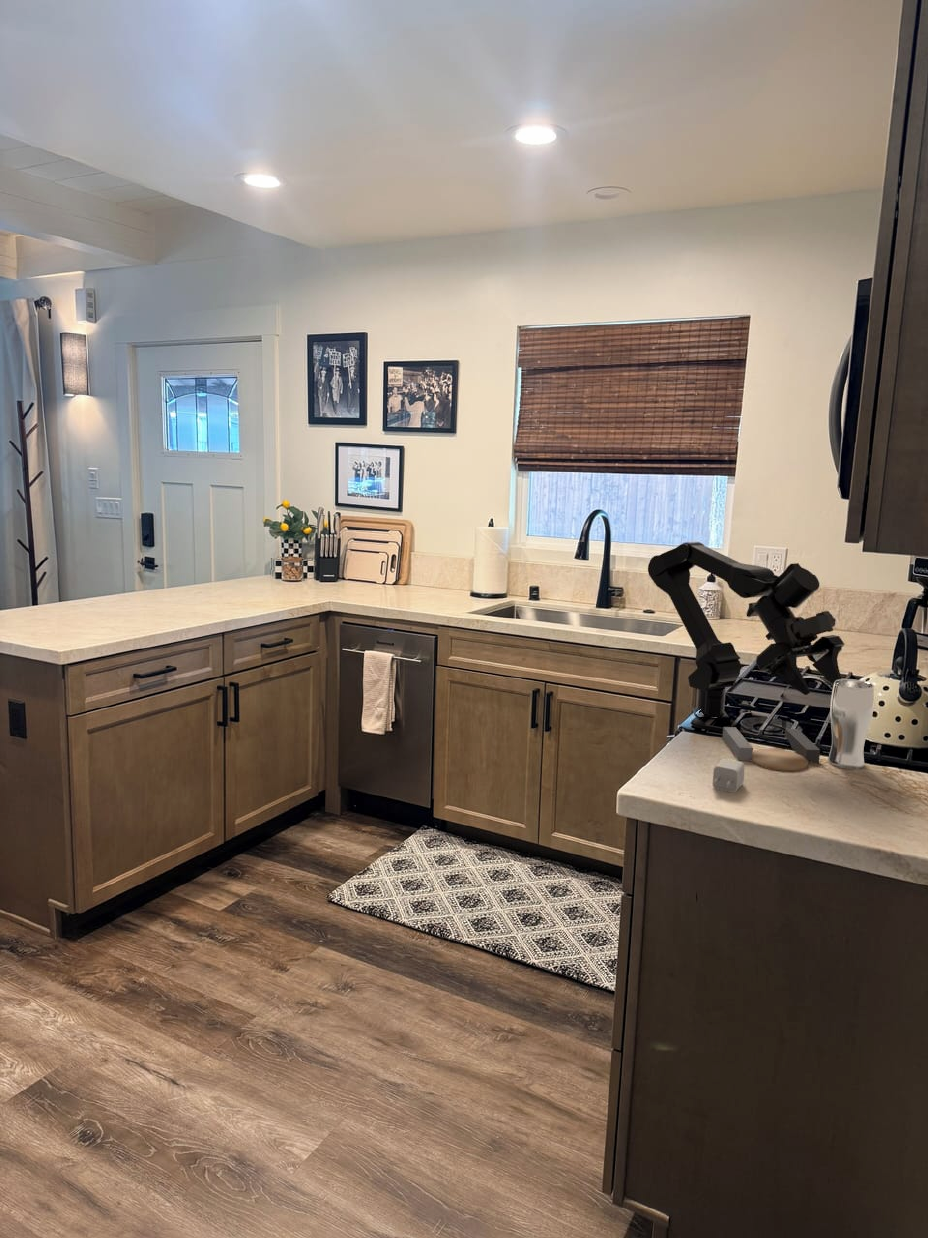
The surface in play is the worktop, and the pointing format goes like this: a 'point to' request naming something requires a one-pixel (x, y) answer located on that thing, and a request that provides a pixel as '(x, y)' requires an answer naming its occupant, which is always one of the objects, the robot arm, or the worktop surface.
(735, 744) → the grey square beam
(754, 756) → the coaster
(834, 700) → the silver metal cup
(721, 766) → the usb wall charger
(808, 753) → the long grey square rod
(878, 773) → the worktop surface
